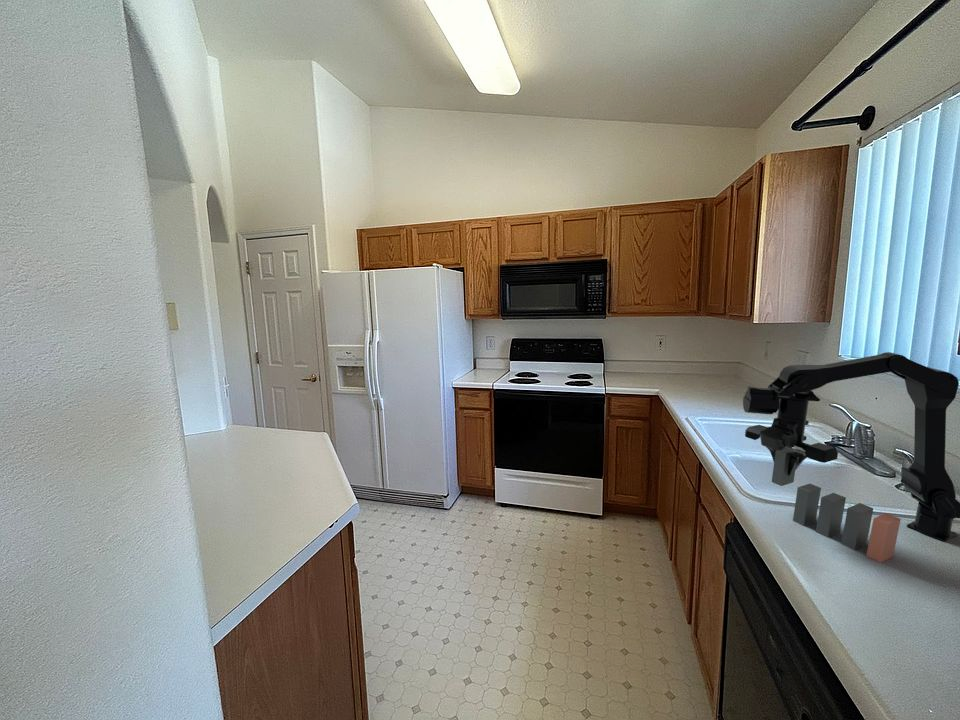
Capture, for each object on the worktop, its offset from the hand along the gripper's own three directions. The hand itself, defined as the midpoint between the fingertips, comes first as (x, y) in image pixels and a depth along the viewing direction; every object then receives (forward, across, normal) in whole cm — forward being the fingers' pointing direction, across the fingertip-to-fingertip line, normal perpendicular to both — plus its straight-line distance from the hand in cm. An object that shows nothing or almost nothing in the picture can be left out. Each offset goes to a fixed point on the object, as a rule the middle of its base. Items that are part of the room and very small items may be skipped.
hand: (783, 473), depth 103 cm
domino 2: (+10, +6, 0) cm, 12 cm away
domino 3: (+10, +11, 0) cm, 15 cm away
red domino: (+10, +20, 0) cm, 23 cm away
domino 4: (+10, +16, 0) cm, 19 cm away
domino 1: (+2, 0, 0) cm, 3 cm away
